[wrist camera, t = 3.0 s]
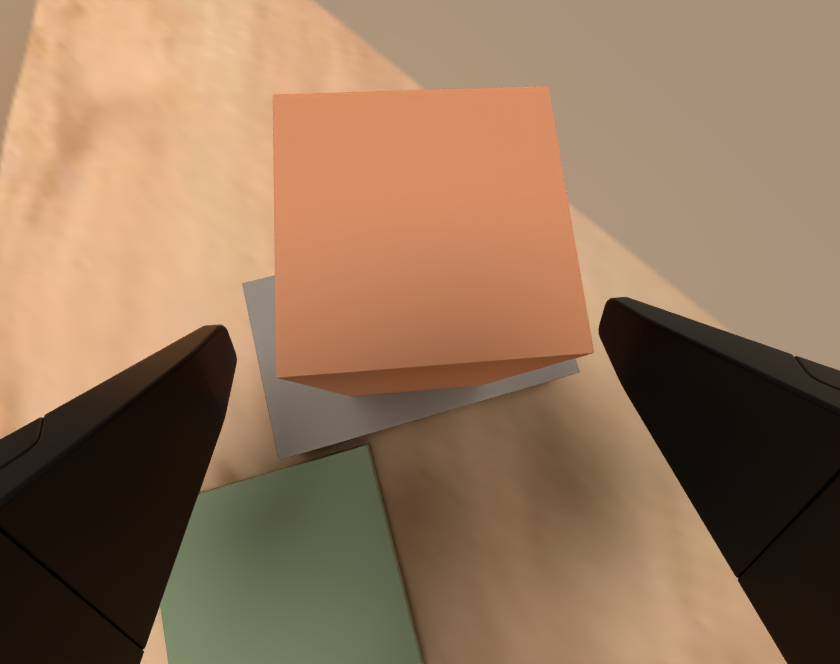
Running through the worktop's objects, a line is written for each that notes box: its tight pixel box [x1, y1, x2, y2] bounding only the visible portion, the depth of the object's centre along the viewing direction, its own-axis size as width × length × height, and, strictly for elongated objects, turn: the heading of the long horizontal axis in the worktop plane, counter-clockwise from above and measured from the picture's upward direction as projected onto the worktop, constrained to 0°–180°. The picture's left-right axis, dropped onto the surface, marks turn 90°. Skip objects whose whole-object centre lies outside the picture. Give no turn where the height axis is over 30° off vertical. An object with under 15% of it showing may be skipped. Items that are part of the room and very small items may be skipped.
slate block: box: [242, 276, 580, 460], centre depth 17 cm, size 7×12×3 cm, turn 106°
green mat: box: [160, 443, 423, 664], centre depth 16 cm, size 9×9×1 cm
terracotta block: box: [273, 86, 594, 397], centre depth 11 cm, size 5×5×9 cm
